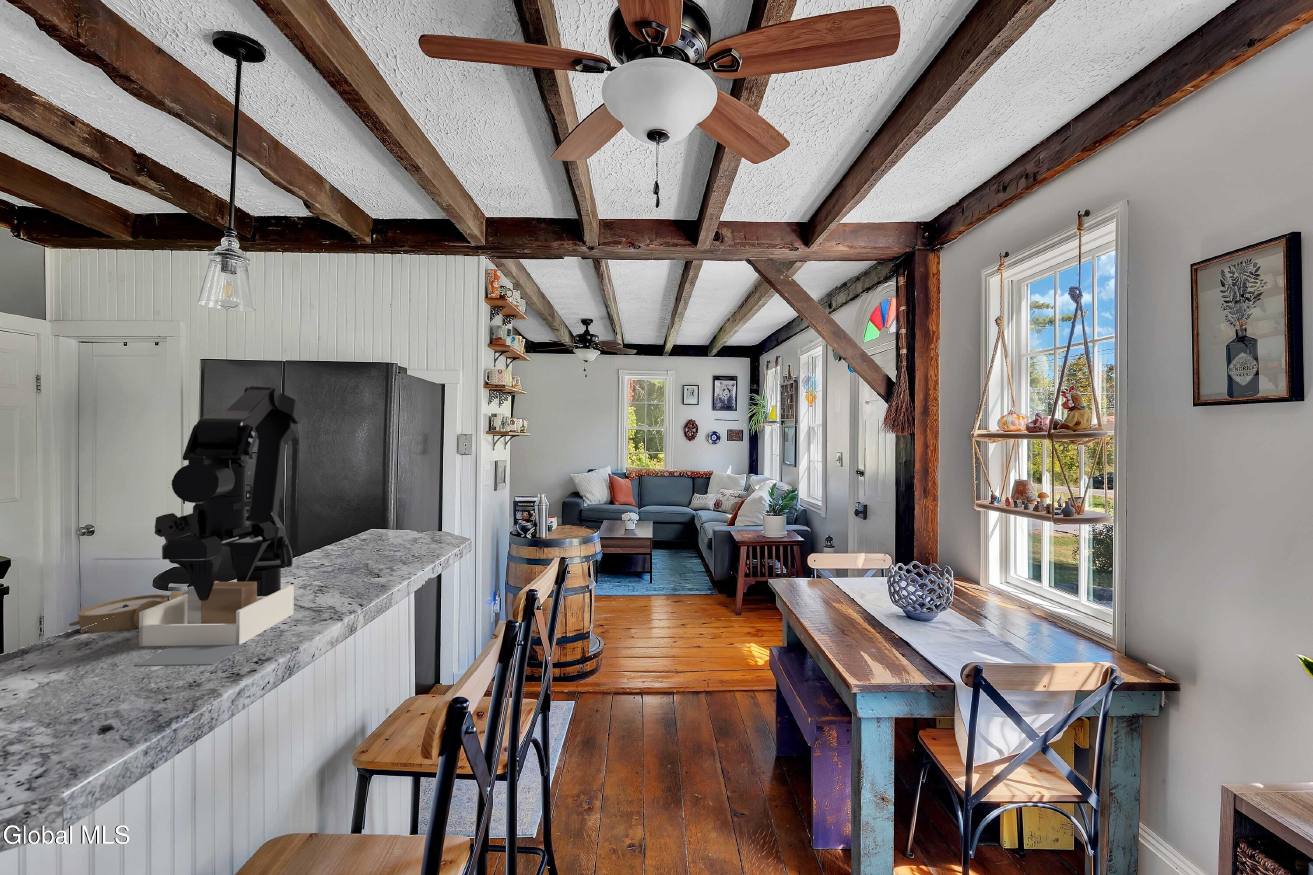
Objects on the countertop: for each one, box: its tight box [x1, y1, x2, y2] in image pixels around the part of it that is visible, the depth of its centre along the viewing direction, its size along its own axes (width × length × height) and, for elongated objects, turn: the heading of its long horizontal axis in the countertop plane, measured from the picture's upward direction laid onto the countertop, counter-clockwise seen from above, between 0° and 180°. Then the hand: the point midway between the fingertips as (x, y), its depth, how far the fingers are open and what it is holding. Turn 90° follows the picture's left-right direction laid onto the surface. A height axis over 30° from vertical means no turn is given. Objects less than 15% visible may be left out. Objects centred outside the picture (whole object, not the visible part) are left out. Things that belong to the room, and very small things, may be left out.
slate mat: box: [133, 644, 245, 667], centre depth 82 cm, size 7×10×1 cm
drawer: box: [138, 584, 295, 647], centre depth 94 cm, size 15×14×6 cm
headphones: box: [68, 590, 184, 634], centre depth 97 cm, size 11×5×15 cm
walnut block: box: [187, 580, 257, 624], centre depth 94 cm, size 4×8×7 cm, turn 95°
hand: (223, 591), depth 94 cm, fingers open, 9 cm apart
